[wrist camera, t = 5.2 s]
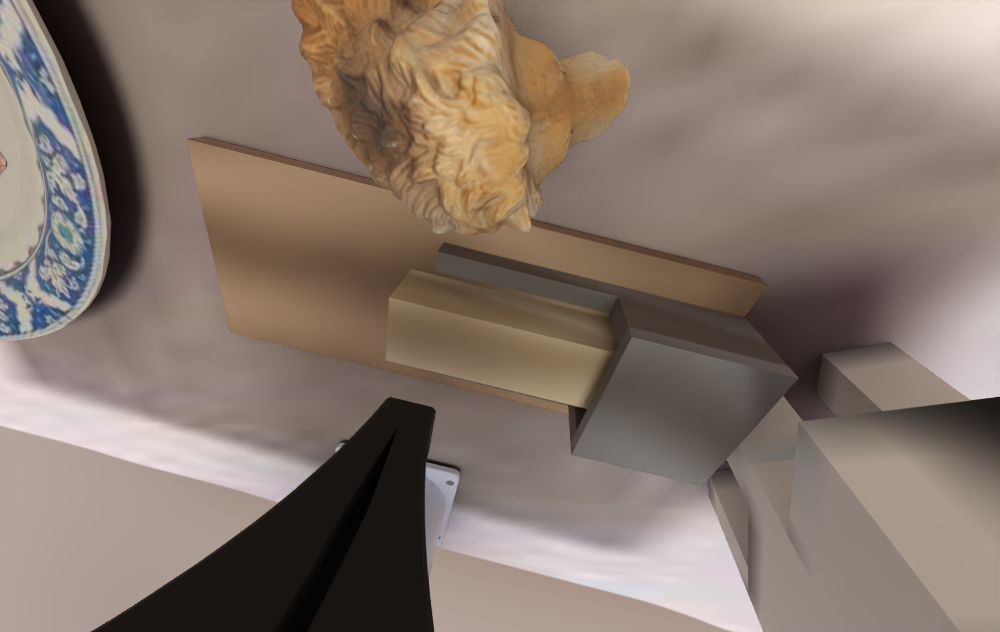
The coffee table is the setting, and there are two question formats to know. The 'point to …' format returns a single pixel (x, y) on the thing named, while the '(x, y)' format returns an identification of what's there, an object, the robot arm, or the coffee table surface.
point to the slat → (498, 338)
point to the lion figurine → (455, 103)
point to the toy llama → (869, 504)
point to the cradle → (504, 267)
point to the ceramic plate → (45, 185)
